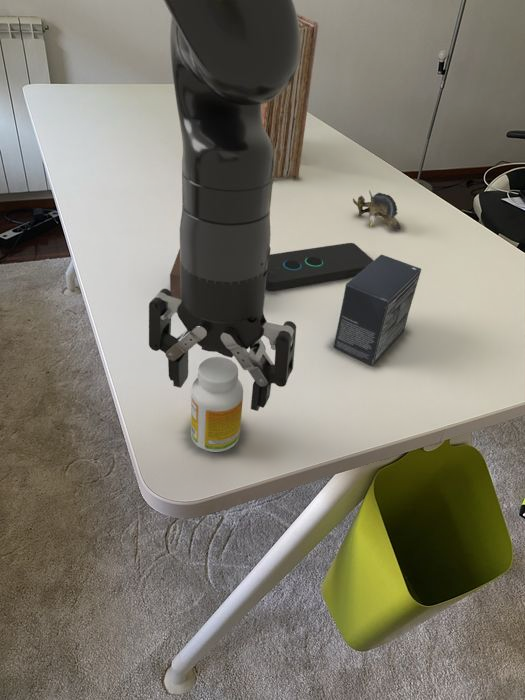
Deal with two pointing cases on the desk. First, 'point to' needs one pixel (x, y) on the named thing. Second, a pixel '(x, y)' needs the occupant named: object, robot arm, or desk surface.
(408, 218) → the desk surface
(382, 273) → the small box
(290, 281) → the smart home device
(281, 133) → the book
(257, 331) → the robot arm
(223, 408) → the supplement bottle
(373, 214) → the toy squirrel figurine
